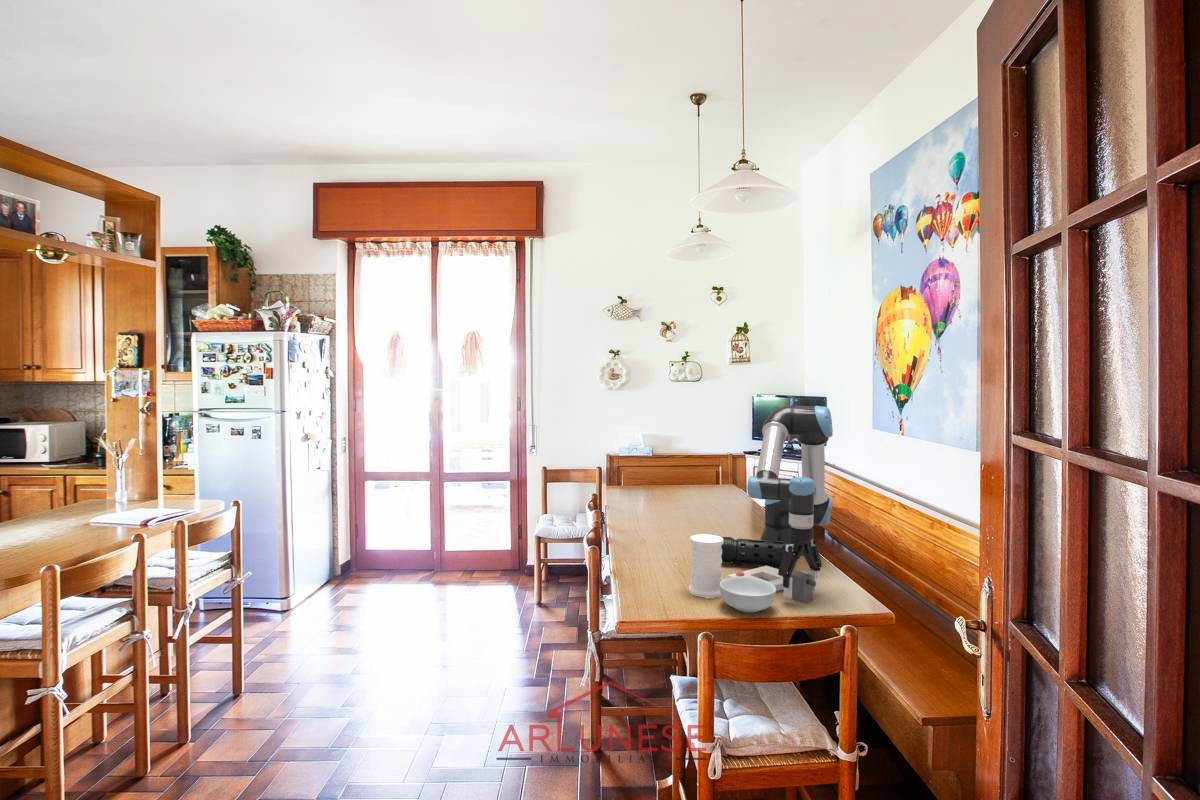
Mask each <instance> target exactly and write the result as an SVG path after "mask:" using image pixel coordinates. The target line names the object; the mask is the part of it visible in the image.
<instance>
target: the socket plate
mask: <svg viewBox="0 0 1200 800" xmlns="http://www.w3.org/2000/svg"><path fill="white" fill-rule="evenodd" d="M778 571H779V568H774V567H769V566H758V567H756V568H751V569H748V570H743V571H739V572H735V573H731V574H728V575H727V578H732V577H750V578H756V579H760V580H763V581H766V582H769V583H771V584H772V585H774V586H775V588H776V594H777V593H779V592H783V590H784V587H783V576H780V575H778ZM787 574H788V572H787Z"/></svg>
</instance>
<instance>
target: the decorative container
mask: <svg viewBox="0 0 1200 800" xmlns="http://www.w3.org/2000/svg"><path fill="white" fill-rule="evenodd" d="M722 537H723V536H719V535H715V534H708V533H698V534H694V535H691V536H690V537H689V540H690V541H689V542H690V544H691V549H690V550H691V558H690V560H691V567H690V570H691V576H690V581H691V584H689V586H688V593H689V592H690V593H691V594H693V595H695V596H694V597H696V596H700V597H709V598H710V599H716V598H715V597H718V598H722V597H721V594H720V582H721V581H722V580H723V579H722V574H723V569H722V564H723V562H722V558H721V554H722V548H721V545H723V542H724V540H723V538H722ZM690 593H689V594H690ZM691 594H690V595H691ZM693 595H692V596H693ZM700 597H699V598H700ZM709 598H708V599H709Z"/></svg>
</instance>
